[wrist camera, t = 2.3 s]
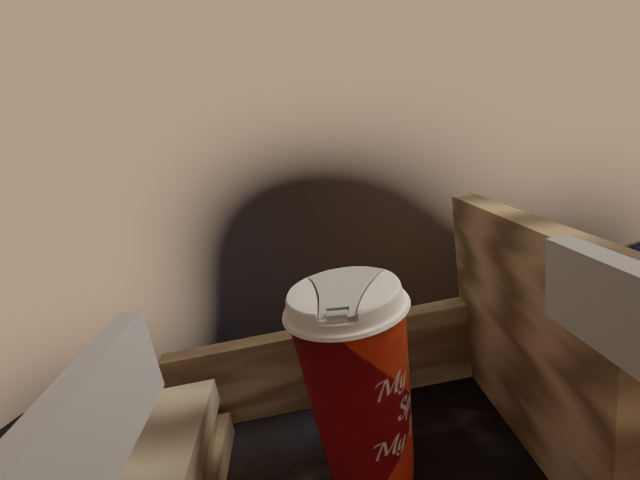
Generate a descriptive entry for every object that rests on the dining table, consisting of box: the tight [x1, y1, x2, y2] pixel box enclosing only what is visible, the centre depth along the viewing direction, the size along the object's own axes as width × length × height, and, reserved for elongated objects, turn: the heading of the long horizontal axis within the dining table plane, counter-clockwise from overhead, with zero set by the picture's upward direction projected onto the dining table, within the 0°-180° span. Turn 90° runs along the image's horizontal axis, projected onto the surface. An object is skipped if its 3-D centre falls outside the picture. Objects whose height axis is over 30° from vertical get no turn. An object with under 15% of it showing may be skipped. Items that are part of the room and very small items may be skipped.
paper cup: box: [282, 266, 414, 480], centre depth 25 cm, size 8×8×14 cm
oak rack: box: [158, 193, 640, 480], centre depth 26 cm, size 17×28×16 cm, turn 94°
